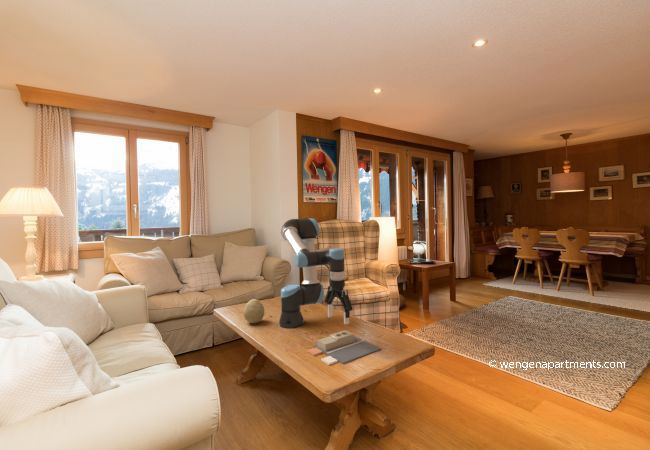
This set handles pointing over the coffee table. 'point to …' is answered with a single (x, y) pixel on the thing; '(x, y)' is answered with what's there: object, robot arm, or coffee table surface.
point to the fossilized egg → (254, 311)
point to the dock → (345, 351)
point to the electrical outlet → (336, 340)
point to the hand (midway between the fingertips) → (338, 320)
